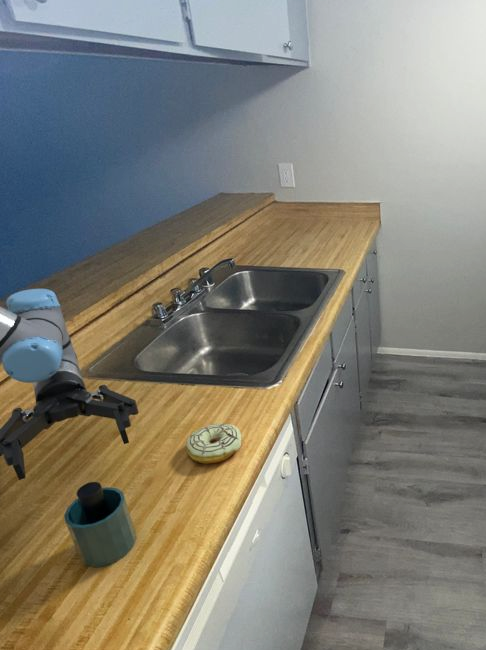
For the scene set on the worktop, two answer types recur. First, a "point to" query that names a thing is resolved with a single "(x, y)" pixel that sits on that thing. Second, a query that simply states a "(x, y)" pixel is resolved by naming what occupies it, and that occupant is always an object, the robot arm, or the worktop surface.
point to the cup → (102, 531)
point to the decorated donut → (213, 443)
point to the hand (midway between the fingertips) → (74, 453)
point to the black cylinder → (93, 502)
